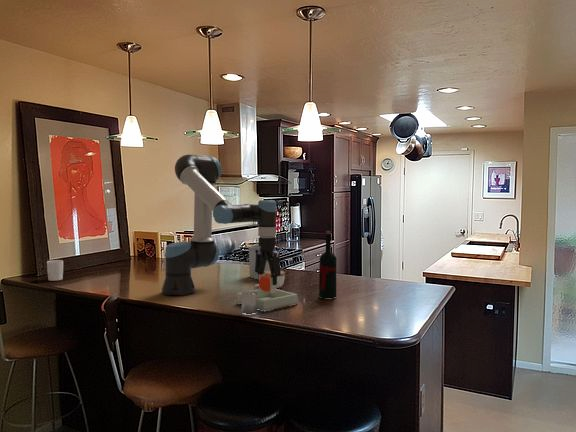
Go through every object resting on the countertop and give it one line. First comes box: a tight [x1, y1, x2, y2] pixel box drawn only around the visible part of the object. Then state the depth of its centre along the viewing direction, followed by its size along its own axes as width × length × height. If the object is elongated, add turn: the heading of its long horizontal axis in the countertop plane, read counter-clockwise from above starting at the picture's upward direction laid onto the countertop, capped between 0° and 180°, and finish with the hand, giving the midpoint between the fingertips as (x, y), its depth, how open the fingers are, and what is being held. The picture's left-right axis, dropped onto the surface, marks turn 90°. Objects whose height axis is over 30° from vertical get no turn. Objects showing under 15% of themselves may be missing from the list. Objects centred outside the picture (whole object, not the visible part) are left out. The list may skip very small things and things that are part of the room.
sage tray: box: [237, 288, 298, 310], centre depth 192 cm, size 18×18×4 cm
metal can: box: [241, 291, 258, 314], centre depth 178 cm, size 6×6×8 cm
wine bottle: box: [318, 230, 337, 298], centre depth 202 cm, size 8×10×30 cm
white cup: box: [46, 259, 64, 282], centre depth 242 cm, size 8×8×10 cm
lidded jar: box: [264, 270, 286, 289], centre depth 224 cm, size 11×11×9 cm
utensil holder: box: [247, 243, 270, 280], centre depth 251 cm, size 15×15×18 cm
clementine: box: [258, 275, 271, 292], centre depth 192 cm, size 8×7×7 cm
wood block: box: [253, 283, 259, 290], centre depth 208 cm, size 5×5×5 cm
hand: (267, 290), depth 192 cm, fingers closed on clementine, 7 cm apart
